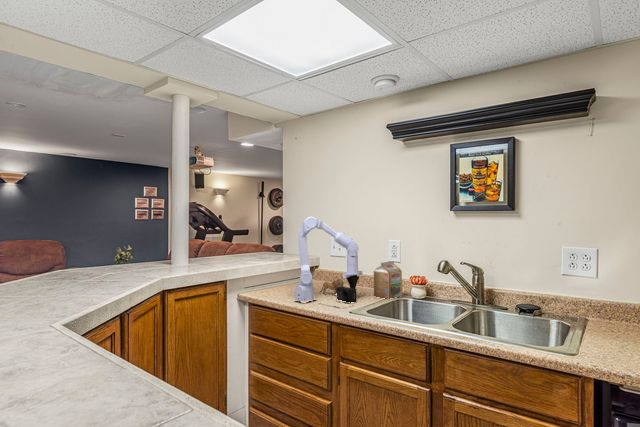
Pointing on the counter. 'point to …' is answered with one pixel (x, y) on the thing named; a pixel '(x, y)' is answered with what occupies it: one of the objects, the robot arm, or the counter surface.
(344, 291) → the digital camera
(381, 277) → the milk carton
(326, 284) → the lion figurine
